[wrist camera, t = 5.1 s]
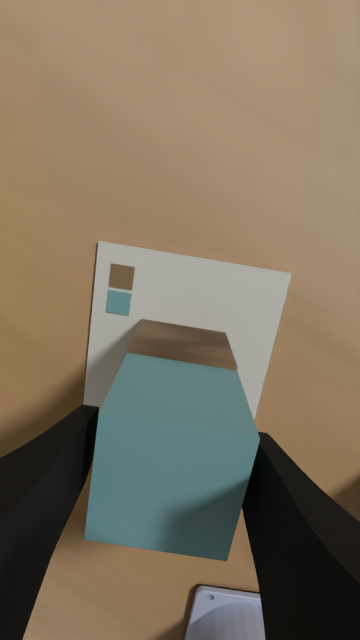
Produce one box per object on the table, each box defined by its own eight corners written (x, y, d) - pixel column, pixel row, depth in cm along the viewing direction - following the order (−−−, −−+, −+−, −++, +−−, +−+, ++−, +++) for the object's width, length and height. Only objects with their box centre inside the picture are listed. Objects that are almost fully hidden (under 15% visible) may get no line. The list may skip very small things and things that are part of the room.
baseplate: (290, 273, 18) (292, 273, 17) (241, 464, 21) (242, 468, 21) (99, 240, 17) (98, 241, 17) (80, 439, 21) (79, 442, 20)
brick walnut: (225, 332, 18) (237, 367, 14) (209, 406, 20) (216, 460, 15) (141, 318, 18) (127, 349, 14) (131, 394, 20) (114, 444, 15)
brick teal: (237, 370, 14) (260, 439, 10) (215, 463, 15) (226, 561, 11) (127, 352, 14) (98, 413, 9) (114, 447, 15) (83, 539, 11)
